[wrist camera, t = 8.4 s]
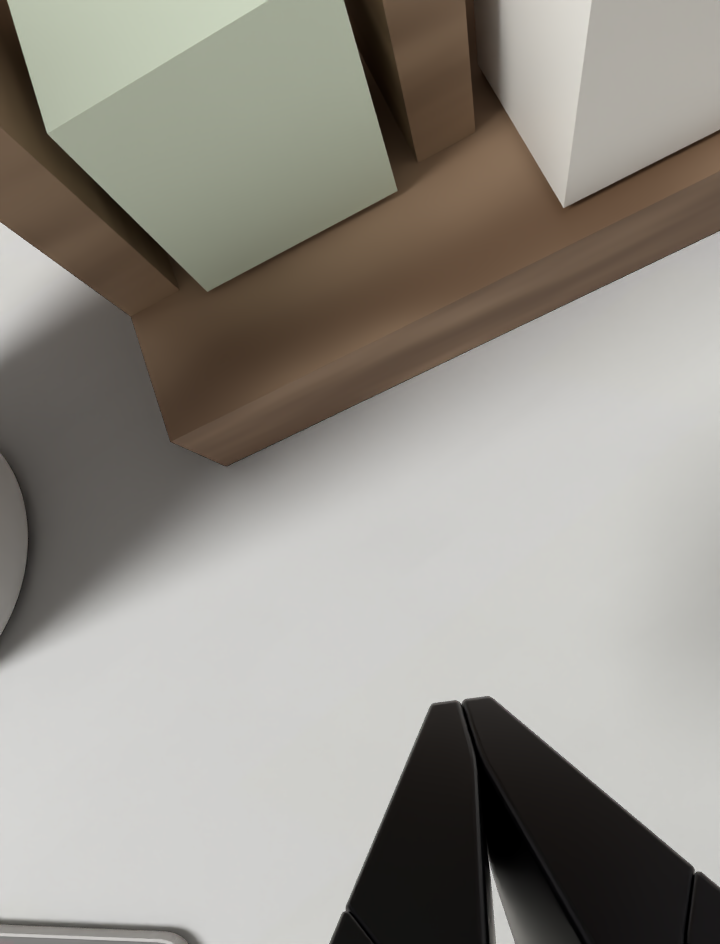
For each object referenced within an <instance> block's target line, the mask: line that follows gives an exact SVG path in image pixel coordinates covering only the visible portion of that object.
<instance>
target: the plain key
mask: <svg viewBox="0 0 720 944" xmlns="http://www.w3.org/2000/svg"><path fill="white" fill-rule="evenodd" d="M474 14H475V29H476V45H477V61H478V65H479V67H480V69H481V70H482V72H483V74H484V75H485V77H486V79H487V80H488V82H489V84H490V85H491V87H492V89H493V90H494V92H495V94H496V95H497V97H498V99H499V100H500V102H501V104H502V106H503V107H504V109H505V111H506V112H507V114H508V116H509V117H510V119H511V121H512V122H513V124H514V126H515V127H516V129H517V131H518V132H519V134H520V136H521V137H522V139H523V141H524V142H525V144H526V146H527V147H528V149H529V151H530V152H531V154H532V156H533V158H534V159H535V161H536V163H537V164H538V166H539V168H540V169H541V171H542V173H543V174H544V176H545V178H546V179H547V181H548V183H549V184H550V186H551V188H552V189H553V191H554V193H555V194H556V196H557V198H558V199H559V201H560V203H561V205H562V206H563V208H565V207H567V206H569V205H571V204H573V203H575V202H577V201H579V200H581V199H583V198H585V197H587V196H589V195H591V194H593V193H595V192H597V191H599V190H601V189H603V188H605V187H607V186H609V185H611V184H613V183H615V182H617V181H618V180H620V179H622V178H624V177H626V176H628V175H630V174H632V173H634V172H636V171H638V170H640V169H642V168H644V167H646V166H648V165H650V164H652V163H654V162H656V161H658V160H660V159H662V158H664V157H666V156H668V155H670V154H672V153H674V152H676V151H678V150H680V149H682V148H684V147H686V146H688V145H690V144H692V143H694V142H696V141H698V140H700V139H702V138H704V137H706V136H708V135H710V134H712V133H714V132H716V131H718V130H720V0H474Z"/></svg>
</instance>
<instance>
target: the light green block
mask: <svg viewBox="0 0 720 944" xmlns="http://www.w3.org/2000/svg"><path fill="white" fill-rule="evenodd" d="M7 2H8V5H9V8H10V12H11V15H12V18H13V22H14V25H15V28H16V32H17V35H18V38H19V42H20V45H21V48H22V52H23V55H24V58H25V62H26V65H27V68H28V72H29V75H30V78H31V82H32V85H33V88H34V92H35V95H36V98H37V102H38V105H39V108H40V112H41V115H42V118H43V122H44V125H45V128H46V132H47V134H48V135H49V136H50V137H51V138H52V139H53V140H54V141H55V142H56V143H57V144H58V145H59V146H60V147H61V148H62V149H63V150H64V151H65V152H66V153H67V154H68V155H69V156H70V157H71V158H72V159H73V160H74V161H75V162H76V163H77V164H78V165H79V166H80V167H81V168H82V169H83V170H84V171H85V172H86V173H87V174H88V175H90V176H91V177H92V178H93V179H94V180H95V181H96V182H97V183H98V184H99V185H100V186H101V187H102V188H103V189H104V190H105V191H106V192H107V193H108V194H109V195H110V196H111V197H112V198H113V199H114V200H115V201H116V202H117V203H118V204H119V205H120V206H121V207H122V208H123V209H124V210H125V211H126V212H127V213H128V214H129V215H130V216H131V217H132V218H133V219H134V220H135V221H136V222H137V223H138V224H139V225H140V226H141V227H142V228H143V229H144V230H145V231H146V232H147V233H148V234H149V235H150V236H151V237H152V238H153V239H154V240H155V241H156V242H157V243H158V244H159V245H160V246H161V247H162V248H163V249H164V250H165V251H166V252H167V253H168V254H169V255H170V256H171V257H172V258H173V259H174V260H175V261H177V262H178V263H179V264H180V265H181V266H182V267H183V268H184V269H185V270H186V271H187V272H188V273H189V274H190V275H191V276H192V277H193V278H194V279H195V280H196V281H197V282H198V283H199V284H200V285H201V286H202V287H203V288H204V289H205V290H206V291H207V292H208V291H210V290H212V289H214V288H216V287H217V286H219V285H221V284H223V283H225V282H227V281H229V280H231V279H232V278H234V277H236V276H238V275H240V274H242V273H244V272H246V271H248V270H249V269H251V268H253V267H255V266H257V265H259V264H261V263H263V262H265V261H266V260H268V259H270V258H272V257H274V256H276V255H278V254H280V253H282V252H283V251H285V250H287V249H289V248H291V247H293V246H295V245H297V244H299V243H300V242H302V241H304V240H306V239H308V238H310V237H312V236H314V235H315V234H317V233H319V232H321V231H323V230H325V229H327V228H329V227H331V226H332V225H334V224H336V223H338V222H340V221H342V220H344V219H346V218H348V217H349V216H351V215H353V214H355V213H357V212H359V211H361V210H363V209H365V208H366V207H368V206H370V205H372V204H374V203H376V202H378V201H380V200H382V199H383V198H385V197H387V196H389V195H391V194H393V193H395V192H397V191H398V190H397V187H396V183H395V180H394V176H393V173H392V169H391V166H390V162H389V159H388V155H387V152H386V148H385V144H384V141H383V137H382V134H381V130H380V127H379V123H378V120H377V116H376V113H375V109H374V106H373V102H372V99H371V95H370V92H369V88H368V84H367V81H366V77H365V74H364V70H363V67H362V63H361V60H360V56H359V53H358V49H357V46H356V42H355V39H354V35H353V32H352V28H351V25H350V21H349V17H348V14H347V10H346V7H345V3H344V0H7Z"/></svg>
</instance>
